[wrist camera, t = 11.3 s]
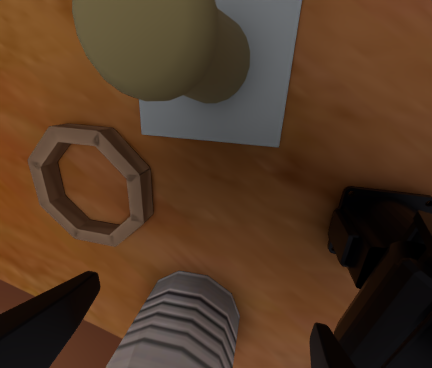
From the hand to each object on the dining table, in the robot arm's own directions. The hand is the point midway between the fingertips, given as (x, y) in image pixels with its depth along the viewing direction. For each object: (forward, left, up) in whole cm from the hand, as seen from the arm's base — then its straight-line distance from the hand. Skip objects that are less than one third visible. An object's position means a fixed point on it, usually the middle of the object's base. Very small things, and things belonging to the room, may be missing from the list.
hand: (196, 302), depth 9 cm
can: (+4, +17, -13) cm, 22 cm away
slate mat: (+3, -10, -13) cm, 17 cm away
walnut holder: (+15, +2, -13) cm, 20 cm away
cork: (+3, -10, -12) cm, 16 cm away
